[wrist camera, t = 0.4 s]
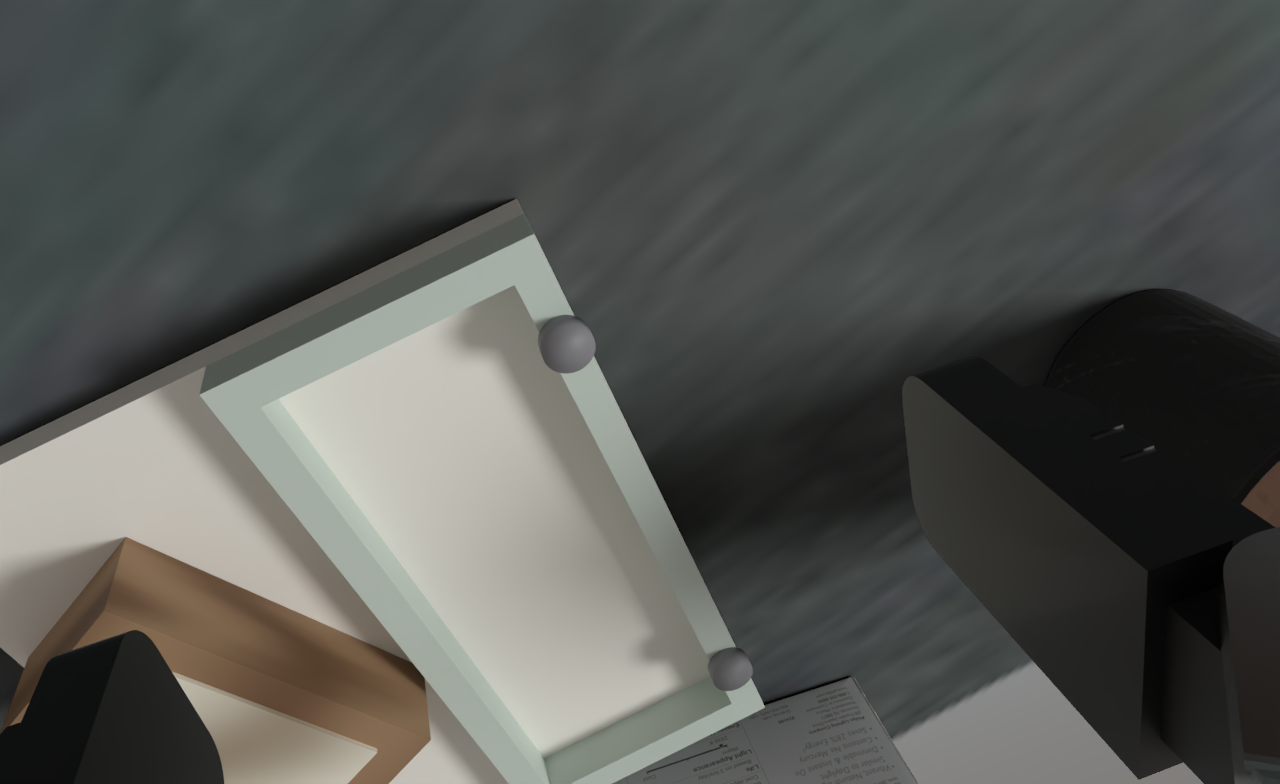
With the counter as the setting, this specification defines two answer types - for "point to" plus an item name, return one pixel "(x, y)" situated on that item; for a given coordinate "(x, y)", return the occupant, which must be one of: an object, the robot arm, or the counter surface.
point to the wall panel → (408, 510)
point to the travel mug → (1186, 388)
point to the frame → (252, 673)
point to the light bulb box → (791, 746)
